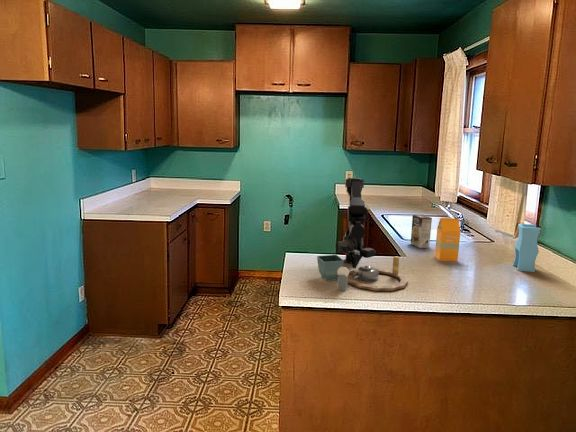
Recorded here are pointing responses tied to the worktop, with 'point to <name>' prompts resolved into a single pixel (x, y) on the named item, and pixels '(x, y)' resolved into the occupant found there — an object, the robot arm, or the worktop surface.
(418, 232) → the coffee box
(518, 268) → the vase
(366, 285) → the brown ring with post
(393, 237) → the worktop surface
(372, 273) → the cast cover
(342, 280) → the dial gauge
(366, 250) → the robot arm
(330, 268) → the flower pot
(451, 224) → the orange juice
